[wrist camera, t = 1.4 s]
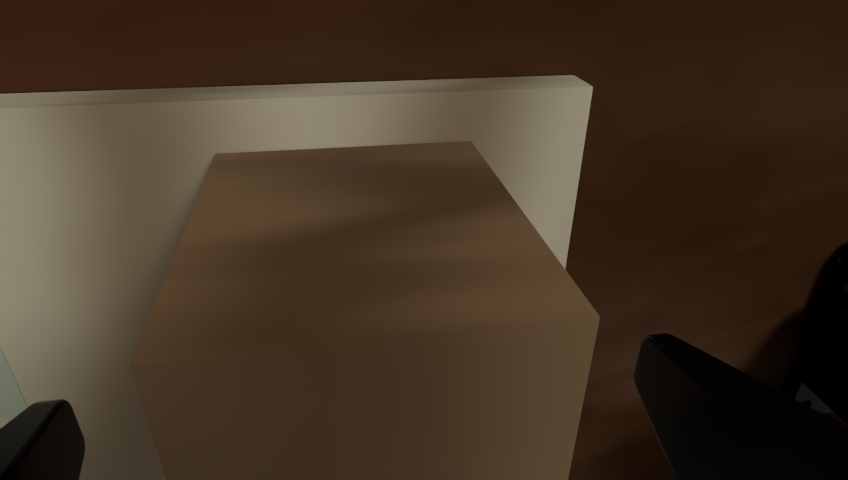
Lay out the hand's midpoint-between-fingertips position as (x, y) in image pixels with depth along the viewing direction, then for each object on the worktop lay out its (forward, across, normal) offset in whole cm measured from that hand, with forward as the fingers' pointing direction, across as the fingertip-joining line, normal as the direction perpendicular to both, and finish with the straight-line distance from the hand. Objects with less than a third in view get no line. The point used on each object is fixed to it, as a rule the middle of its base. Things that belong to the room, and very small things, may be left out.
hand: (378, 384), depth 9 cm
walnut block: (+4, 0, 0) cm, 4 cm away
